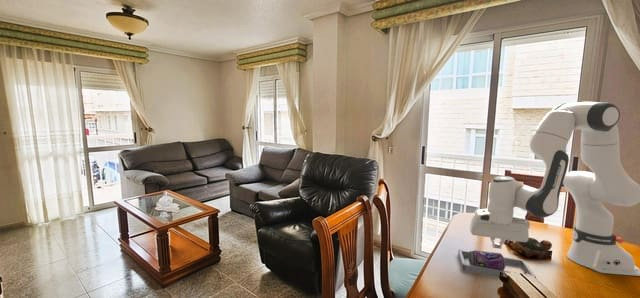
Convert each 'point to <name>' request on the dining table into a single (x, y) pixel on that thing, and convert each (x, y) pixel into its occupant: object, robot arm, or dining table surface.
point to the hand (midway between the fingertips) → (496, 247)
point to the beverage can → (487, 259)
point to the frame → (490, 270)
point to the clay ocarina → (533, 247)
